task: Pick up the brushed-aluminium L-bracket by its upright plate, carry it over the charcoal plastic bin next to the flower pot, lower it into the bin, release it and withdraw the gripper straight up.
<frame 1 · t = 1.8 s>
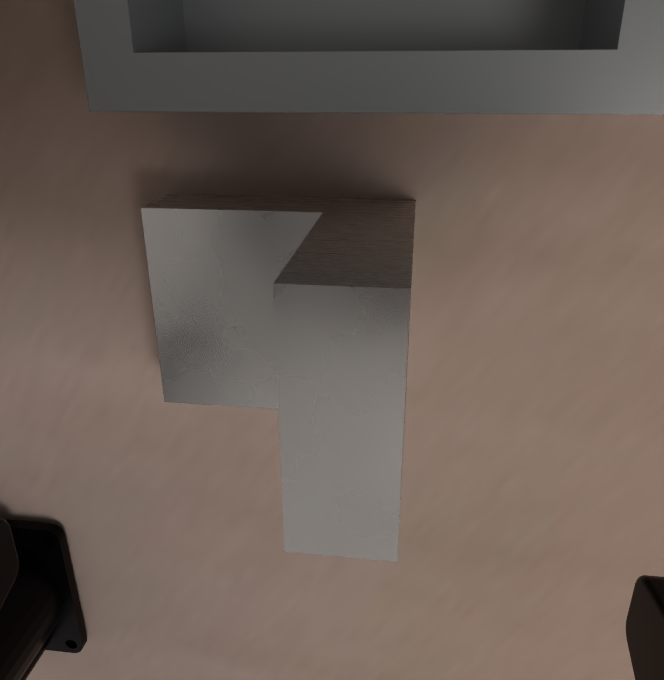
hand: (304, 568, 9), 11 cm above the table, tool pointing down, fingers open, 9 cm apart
bracket: (371, 297, 19), on the table
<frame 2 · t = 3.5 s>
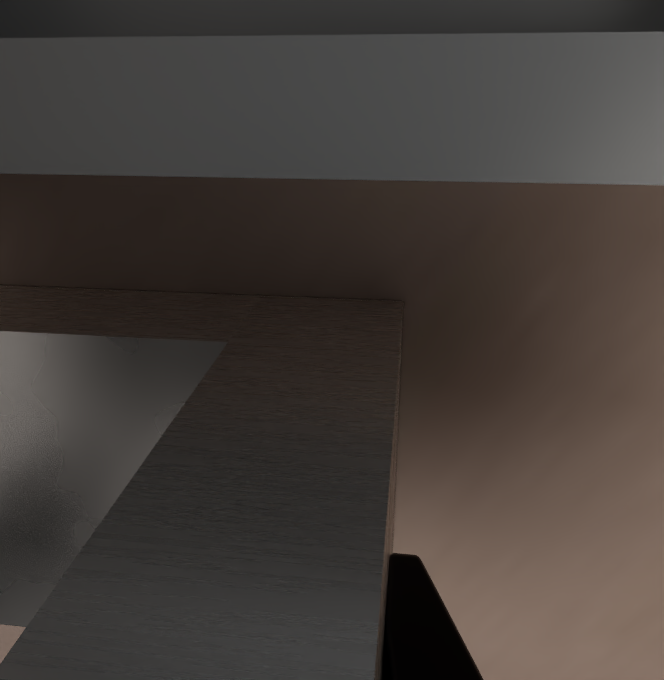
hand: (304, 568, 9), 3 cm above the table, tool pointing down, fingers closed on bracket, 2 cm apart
bracket: (331, 450, 12), on the table, touching gripper
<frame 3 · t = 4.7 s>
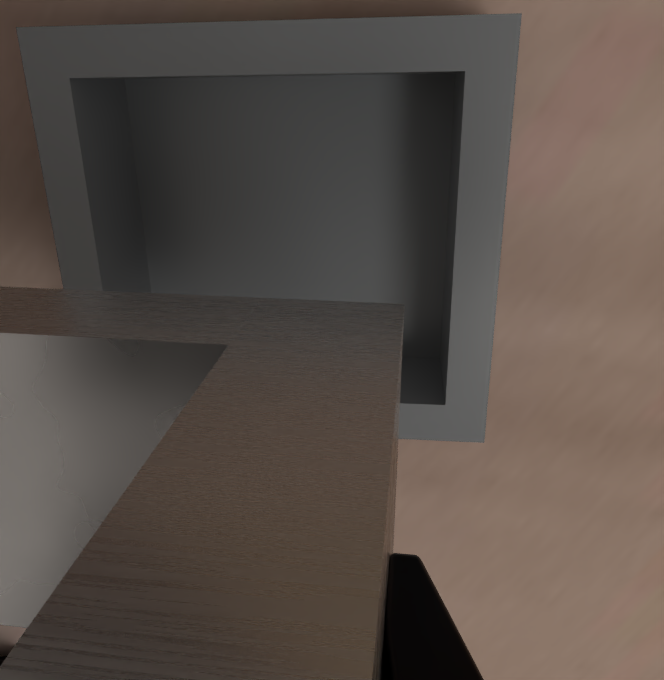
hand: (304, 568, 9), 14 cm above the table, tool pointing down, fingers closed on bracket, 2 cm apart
bin: (294, 222, 21), on the table
bracket: (332, 453, 12), point 11 cm above the table, touching gripper
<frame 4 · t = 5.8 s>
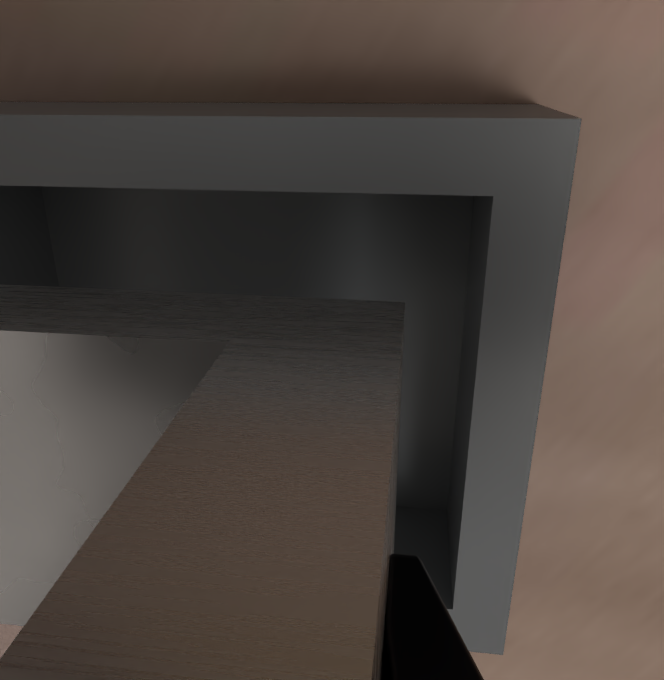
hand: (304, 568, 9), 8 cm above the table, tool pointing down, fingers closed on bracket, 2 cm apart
bin: (262, 338, 16), on the table
bracket: (333, 451, 12), point 5 cm above the table, touching gripper
when the fingers open (6 cm above the table, at t = 6.4 s): bracket drops 2 cm, resting on bin.
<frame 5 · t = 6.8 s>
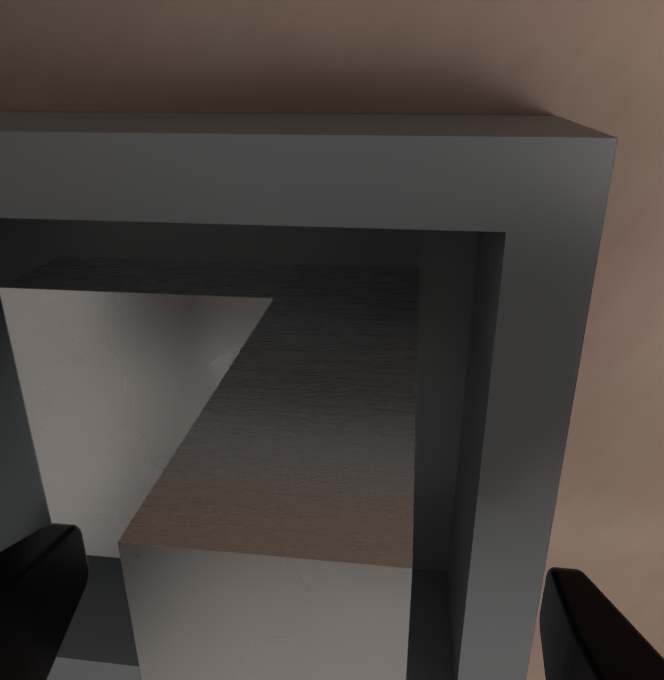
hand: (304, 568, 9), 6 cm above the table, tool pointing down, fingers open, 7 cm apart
bin: (238, 379, 14), on the table
bracket: (354, 401, 13), point 1 cm above the table, touching bin
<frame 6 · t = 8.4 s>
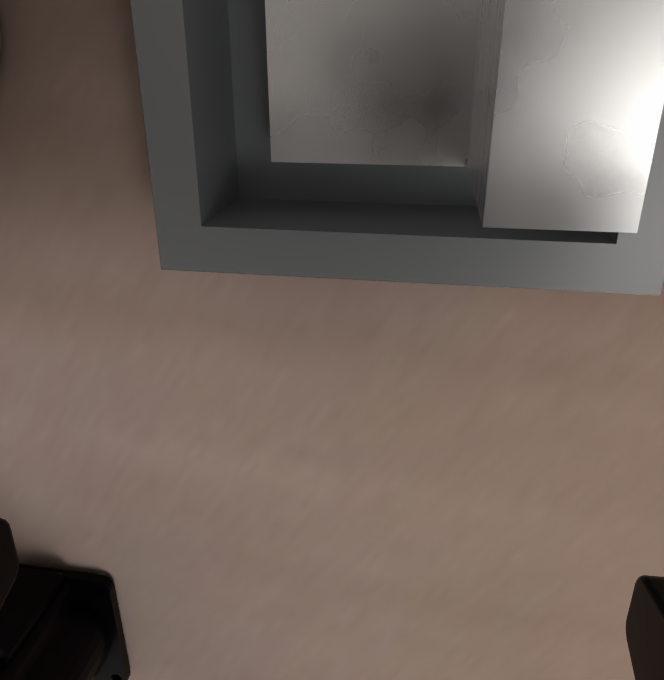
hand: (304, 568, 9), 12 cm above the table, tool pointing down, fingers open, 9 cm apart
bin: (415, 32, 17), on the table
bracket: (521, 34, 16), point 1 cm above the table, touching bin
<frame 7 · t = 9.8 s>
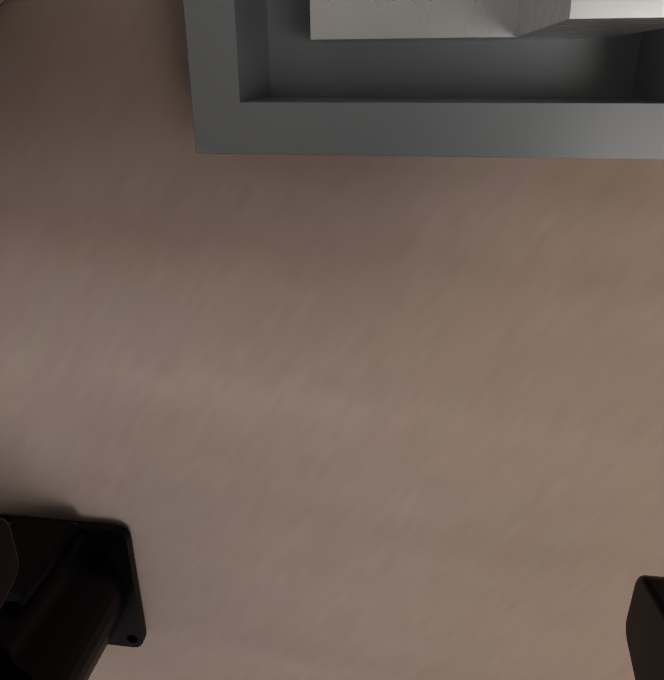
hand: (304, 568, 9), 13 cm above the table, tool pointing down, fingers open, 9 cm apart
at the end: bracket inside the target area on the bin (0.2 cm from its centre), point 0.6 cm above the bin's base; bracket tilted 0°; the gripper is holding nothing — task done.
